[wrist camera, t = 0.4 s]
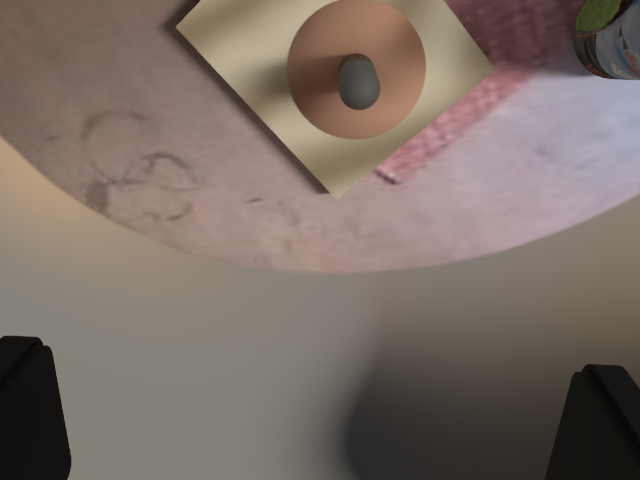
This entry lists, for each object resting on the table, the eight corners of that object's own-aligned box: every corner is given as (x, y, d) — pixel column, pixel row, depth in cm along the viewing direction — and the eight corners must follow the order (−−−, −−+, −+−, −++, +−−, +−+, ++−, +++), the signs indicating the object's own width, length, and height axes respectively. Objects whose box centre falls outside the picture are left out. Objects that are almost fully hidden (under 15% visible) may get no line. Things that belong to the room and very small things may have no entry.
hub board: (180, 24, 40) (142, 39, 32) (337, -138, 36) (336, -167, 28) (336, 192, 45) (336, 241, 37) (490, 65, 41) (527, 90, 33)
